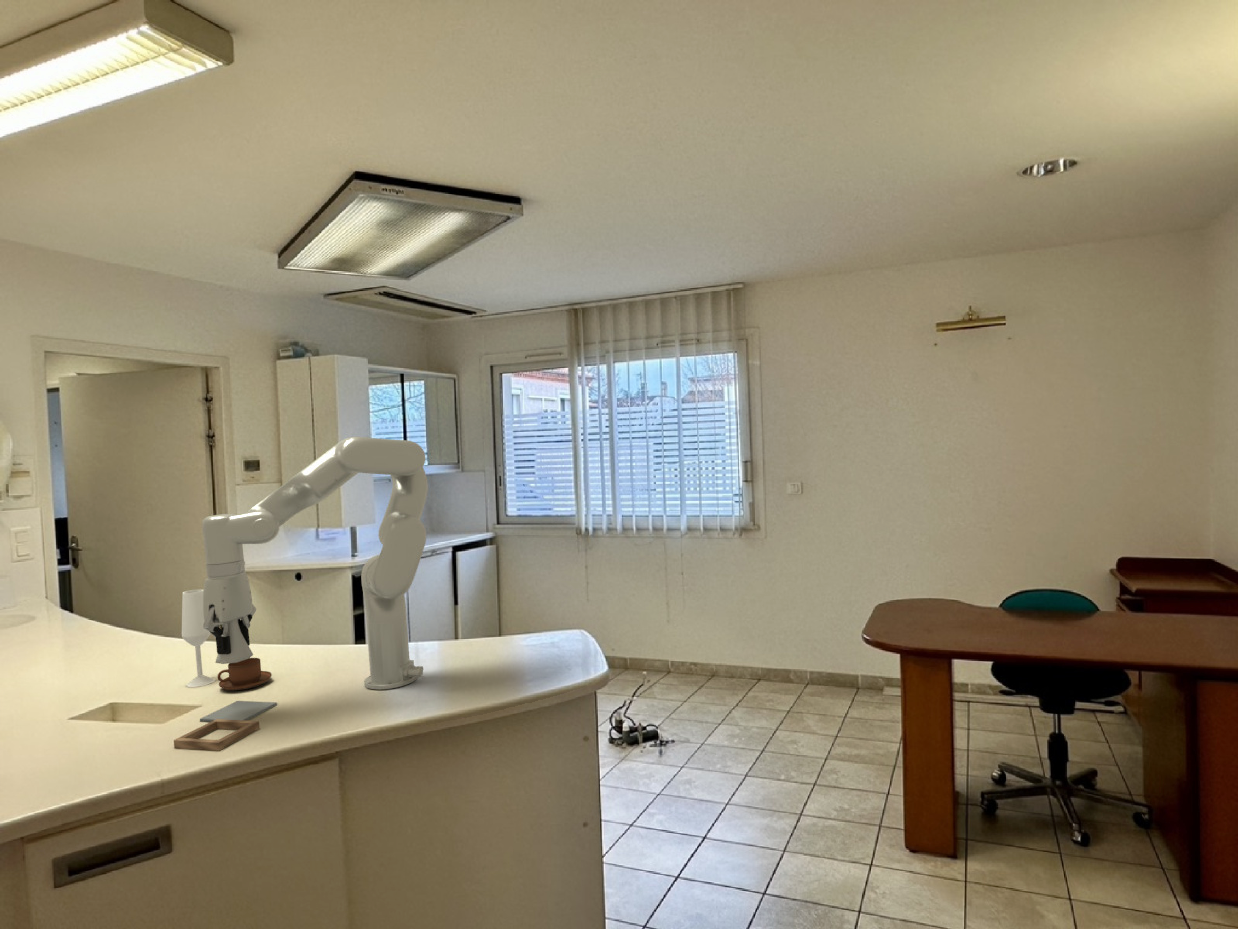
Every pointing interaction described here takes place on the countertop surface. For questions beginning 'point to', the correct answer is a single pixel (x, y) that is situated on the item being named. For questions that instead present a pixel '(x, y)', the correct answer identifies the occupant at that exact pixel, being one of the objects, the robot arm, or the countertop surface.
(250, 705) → the slate tile
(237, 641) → the flask
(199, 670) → the champagne flute
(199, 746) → the square wooden frame
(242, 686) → the cup and saucer
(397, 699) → the countertop surface
